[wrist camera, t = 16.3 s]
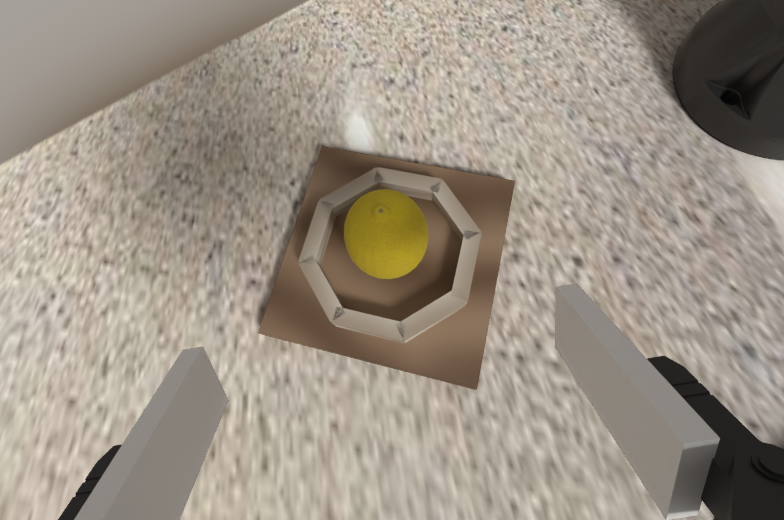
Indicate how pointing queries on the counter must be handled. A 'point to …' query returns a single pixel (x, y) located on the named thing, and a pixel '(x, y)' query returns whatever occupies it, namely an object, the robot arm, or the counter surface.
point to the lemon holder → (398, 295)
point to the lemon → (386, 234)
